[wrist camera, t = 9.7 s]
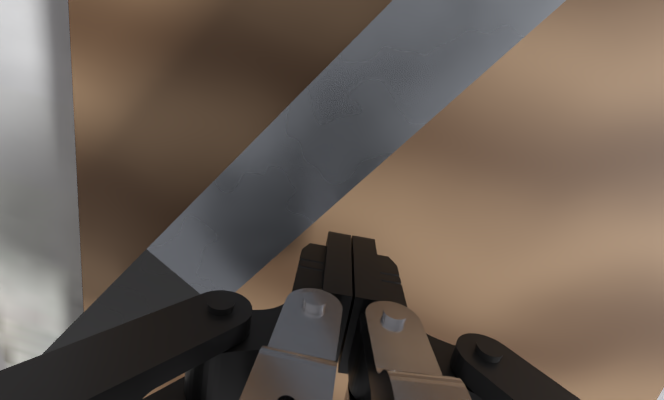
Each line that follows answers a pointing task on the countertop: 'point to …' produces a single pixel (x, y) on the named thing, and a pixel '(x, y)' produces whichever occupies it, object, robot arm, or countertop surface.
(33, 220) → the countertop surface
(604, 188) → the board
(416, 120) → the lever
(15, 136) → the countertop surface
